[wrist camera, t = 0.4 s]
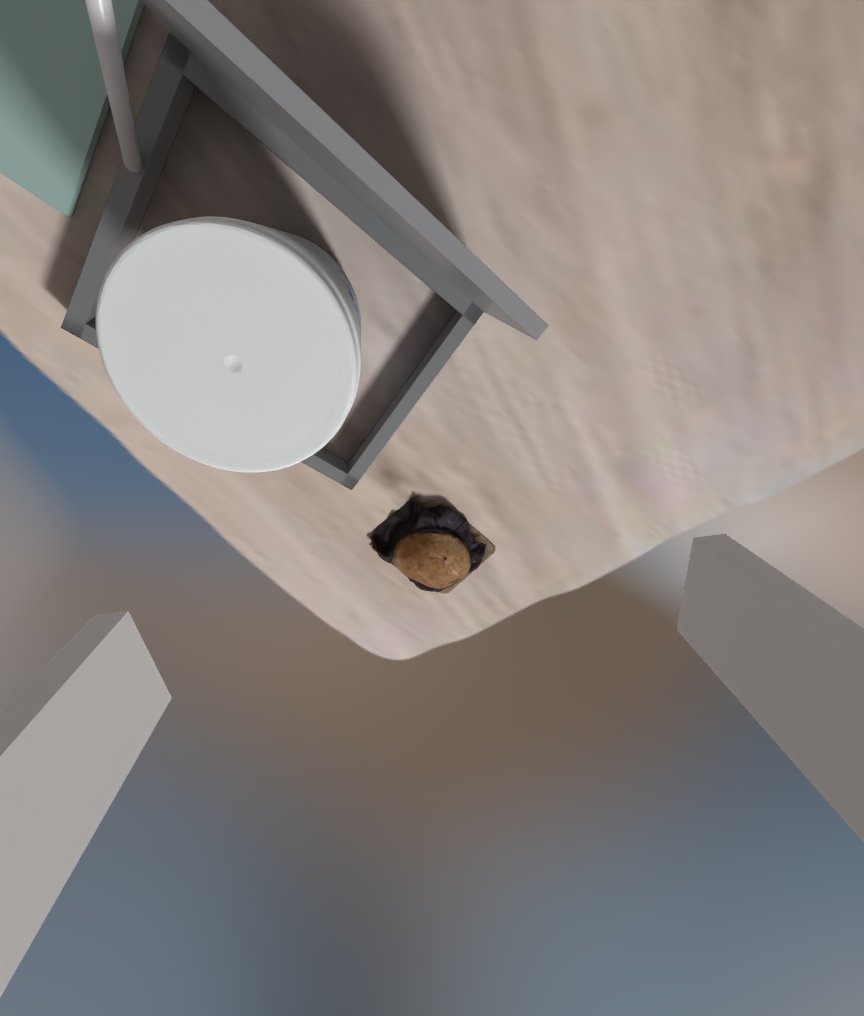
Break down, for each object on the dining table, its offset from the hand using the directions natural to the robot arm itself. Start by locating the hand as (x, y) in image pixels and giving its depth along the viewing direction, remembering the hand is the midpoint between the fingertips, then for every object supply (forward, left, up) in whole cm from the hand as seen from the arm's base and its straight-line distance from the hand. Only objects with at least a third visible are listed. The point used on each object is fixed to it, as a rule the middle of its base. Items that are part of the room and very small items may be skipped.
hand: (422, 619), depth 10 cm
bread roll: (+11, +13, -26) cm, 31 cm away
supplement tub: (+1, -7, -25) cm, 26 cm away
